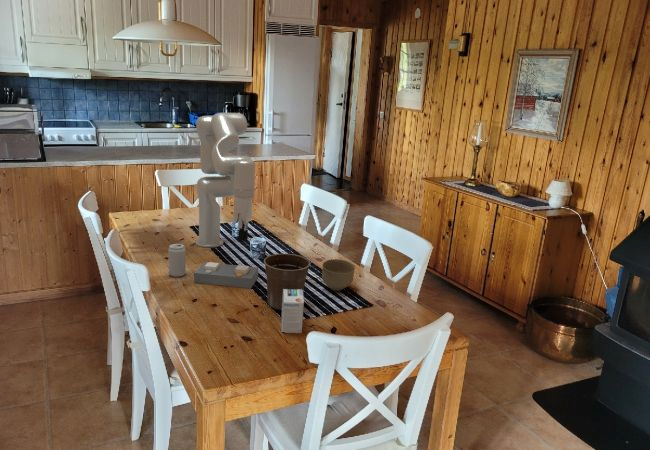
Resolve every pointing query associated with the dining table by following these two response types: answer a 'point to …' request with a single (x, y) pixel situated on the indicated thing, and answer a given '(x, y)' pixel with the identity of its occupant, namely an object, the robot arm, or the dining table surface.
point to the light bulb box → (292, 311)
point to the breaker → (212, 266)
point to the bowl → (337, 273)
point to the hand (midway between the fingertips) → (242, 239)
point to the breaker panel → (226, 276)
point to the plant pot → (284, 276)
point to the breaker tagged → (242, 269)
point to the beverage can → (177, 260)
